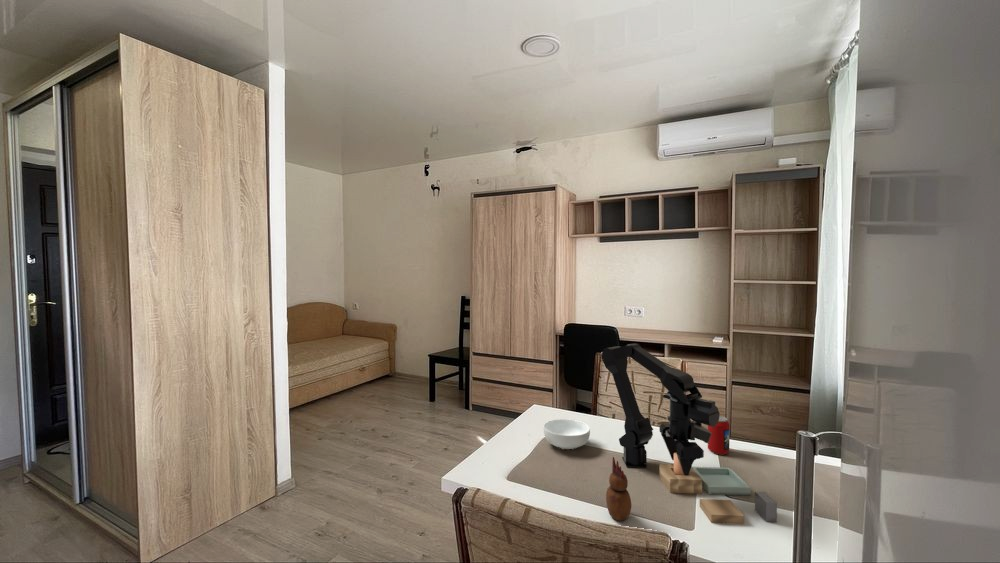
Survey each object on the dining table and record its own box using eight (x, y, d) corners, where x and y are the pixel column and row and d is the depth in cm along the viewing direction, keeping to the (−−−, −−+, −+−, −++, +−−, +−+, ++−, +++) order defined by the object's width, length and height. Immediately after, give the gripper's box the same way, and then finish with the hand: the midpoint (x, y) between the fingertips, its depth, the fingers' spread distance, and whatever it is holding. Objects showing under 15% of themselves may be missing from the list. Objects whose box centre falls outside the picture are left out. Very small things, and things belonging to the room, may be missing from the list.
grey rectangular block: (766, 521, 102) (766, 502, 102) (754, 510, 107) (755, 491, 107) (776, 522, 101) (776, 502, 101) (764, 510, 106) (765, 491, 106)
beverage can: (732, 456, 137) (732, 422, 137) (711, 455, 139) (711, 421, 138) (725, 448, 144) (725, 415, 143) (705, 446, 145) (705, 414, 145)
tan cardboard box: (711, 524, 102) (711, 514, 102) (699, 507, 109) (699, 498, 108) (743, 525, 101) (744, 515, 101) (730, 509, 108) (730, 499, 108)
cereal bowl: (596, 442, 150) (596, 423, 150) (580, 460, 136) (580, 439, 136) (554, 432, 159) (554, 415, 159) (535, 448, 145) (535, 429, 145)
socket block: (670, 492, 115) (670, 479, 115) (659, 476, 124) (659, 464, 124) (702, 493, 115) (702, 479, 115) (689, 477, 124) (689, 464, 124)
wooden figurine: (603, 509, 108) (603, 454, 107) (623, 508, 108) (623, 453, 108) (612, 525, 101) (612, 466, 100) (634, 523, 101) (634, 465, 101)
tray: (708, 494, 114) (708, 486, 114) (691, 473, 126) (691, 466, 126) (750, 495, 114) (750, 487, 114) (729, 474, 125) (729, 467, 125)
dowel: (676, 487, 118) (676, 457, 118) (671, 481, 121) (671, 452, 121) (688, 488, 118) (688, 457, 117) (683, 481, 121) (683, 452, 121)
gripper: (723, 428, 109) (723, 484, 110) (694, 405, 128) (694, 453, 128) (681, 428, 110) (681, 483, 110) (659, 405, 129) (658, 453, 129)
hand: (679, 467), depth 119 cm, fingers open, 9 cm apart
